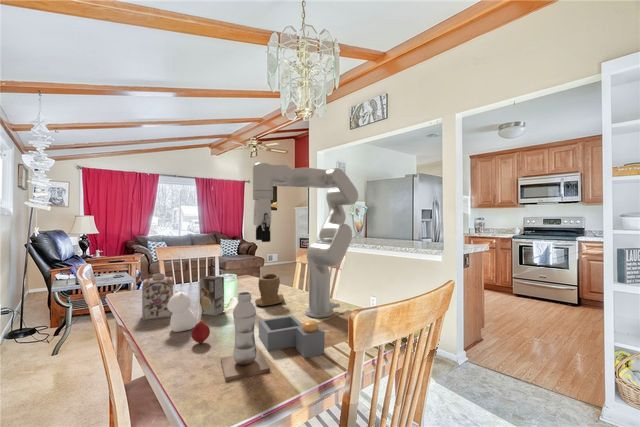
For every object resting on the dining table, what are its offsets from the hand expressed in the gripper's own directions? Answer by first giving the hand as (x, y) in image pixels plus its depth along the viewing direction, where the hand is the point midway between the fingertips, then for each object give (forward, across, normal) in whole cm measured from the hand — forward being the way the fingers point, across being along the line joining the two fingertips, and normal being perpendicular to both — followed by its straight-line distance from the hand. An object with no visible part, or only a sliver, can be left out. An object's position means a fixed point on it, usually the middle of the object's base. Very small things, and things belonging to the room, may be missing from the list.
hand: (262, 240), depth 113 cm
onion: (+34, +2, -22) cm, 41 cm away
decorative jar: (+35, -38, -38) cm, 64 cm away
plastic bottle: (+34, +24, -11) cm, 42 cm away
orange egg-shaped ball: (+31, +23, +10) cm, 40 cm away
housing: (+34, +15, +6) cm, 38 cm away
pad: (+34, +24, -11) cm, 43 cm away
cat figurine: (+34, -15, -27) cm, 46 cm away
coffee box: (+34, -31, -16) cm, 49 cm away
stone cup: (+35, -33, +12) cm, 49 cm away
